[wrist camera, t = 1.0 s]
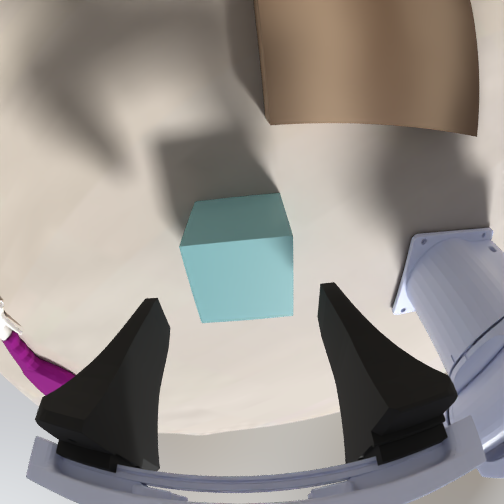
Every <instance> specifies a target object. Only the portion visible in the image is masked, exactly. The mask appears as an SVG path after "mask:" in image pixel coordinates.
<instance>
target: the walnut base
mask: <svg viewBox="0 0 504 504" xmlns="http://www.w3.org/2000/svg"><path fill="white" fill-rule="evenodd" d="M253 2H254V11H255V19H256V28H257V37H258V46H259V56H260V66H261V76H262V86H263V97H264V108H265V118H266V119H267V121H268V122H269V124H270V125H280V124H302V123H360V124H381V125H395V126H407V127H417V128H425V129H433V130H441V131H447V132H454V133H460V134H465V135H471V136H476V137H477V130H478V115H479V64H478V50H477V40H476V31H475V24H474V18H473V12H472V7H471V2H470V0H253Z"/></svg>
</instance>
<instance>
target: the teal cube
mask: <svg viewBox="0 0 504 504" xmlns="http://www.w3.org/2000/svg"><path fill="white" fill-rule="evenodd" d="M179 248H180V251H181V255H182V259H183V262H184V266H185V269H186V273H187V276H188V280H189V283H190V286H191V290H192V293H193V296H194V300H195V303H196V306H197V309H198V313H199V316H200V319H201V322H202V323H209V322H226V321H240V320H252V319H264V318H274V317H284V316H293V235H292V231H291V228H290V225H289V221H288V218H287V215H286V212H285V208H284V205H283V202H282V199H281V195H280V193H272V194H261V195H250V196H240V197H231V198H222V199H213V200H205V201H196V202H195V203H194V206H193V209H192V212H191V214H190V217H189V220H188V223H187V226H186V228H185V231H184V234H183V237H182V240H181V243H180V246H179Z"/></svg>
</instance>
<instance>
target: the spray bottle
mask: <svg viewBox="0 0 504 504" xmlns="http://www.w3.org/2000/svg"><path fill="white" fill-rule="evenodd" d="M3 307H4V303H3V301H2V300H0V338H1V339H2V341H3V343H4V345H5V346H6V348H7V349H8V351H9V352H10V354H11V355H12V357H13V358H14V359H15V361H16V362H17V364H18V365H19V366H20V368H21V369H22V371H23V373H24V375H25V376H26V377H27V378H28V379H29V380H30V381H31V382H32V383H33V384H34V385H35V386H36V387H37V388H38V389H39V390H40V391H41V392H42V393H43V394H44V395H45V396H46V395H48V394H49V393H51V392H53V391H54V390H56V389H58V388H59V387H61V386H62V385H64V384H65V383H66V382H68V381H69V380H71V379H72V378H73V377H75V376H76V375H74V374H73V373H71V372H69V371H67V370H65V369H63V368H61V367H59V366H56V365H54V364H51V363H49V362H46V361H44V360H42V359H40V358H38V357H37V356H35V354H34V353H33V352H32V351H31V350H30V349H29V348H28V347H27V345H26V344H25V343H24V342H23V341H22V340H20V338H19V336H18V334H20V335H21V334H22V331H21V330H19V329H18V328H17V327H16V326H15V325H14V324H13V323H12V322H11V321H10V320H9V319H8V318H7V317H6V316H5V315H4V309H3ZM11 329H12V330H11ZM13 330H14V331H13ZM16 332H17V333H16Z"/></svg>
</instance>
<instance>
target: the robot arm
mask: <svg viewBox="0 0 504 504" xmlns="http://www.w3.org/2000/svg"><path fill="white" fill-rule="evenodd" d="M492 236H493V230H492V229H491V228H480V229H468V230H456V231H445V232H433V233H422V234H416V235H414V236H413V238H412V240H411V244H410V248H409V252H408V256H407V260H406V264H405V268H404V272H403V275H402V279H401V282H400V286H399V289H398V293H397V296H396V299H395V302H394V306H393V309H392V312H393V314H394V315H399V314H404V313H409V312H413V311H416V313H417V315H418V316H419V318H420V320H421V322H422V324H423V325H424V327H425V329H426V331H427V333H428V335H429V337H430V339H431V341H432V343H433V344H434V346H435V348H436V350H437V352H438V354H439V356H440V358H441V361H442V363H443V365H444V367H445V369H446V371H447V373H448V375H449V376H448V375H446V374H444V373H442V372H440V371H437V370H435V369H433V368H431V367H429V366H428V365H426V364H424V363H422V362H420V361H419V360H417V359H415V358H414V357H412V356H411V355H409V354H408V353H406V352H405V351H404V350H402V349H401V348H399V347H398V346H397V345H395V344H394V343H393V342H391V341H390V340H389V339H388V338H387V337H385V336H384V335H383V334H382V333H381V332H380V331H379V330H377V329H376V328H375V327H374V326H373V325H372V324H371V323H370V322H369V321H368V320H367V319H366V318H365V317H364V316H363V315H362V314H361V312H360V311H359V310H358V309H357V308H356V307H355V306H354V305H353V304H352V303H351V301H350V300H349V299H348V298H347V297H346V296H345V294H344V293H343V292H342V291H341V290H340V288H339V287H338V286H337V285H336V284H335V283H334V282H333V283H324V284H320V296H319V307H318V321H319V327H320V332H321V337H322V340H323V343H324V346H325V349H326V353H327V356H328V359H329V362H330V365H331V369H332V372H333V375H334V379H335V383H336V387H337V393H338V399H339V405H340V411H341V417H342V426H343V434H344V446H345V458H346V459H345V461H346V464H343V465H338V466H334V467H328V468H322V469H316V470H310V471H303V472H295V473H286V474H276V475H262V476H237V477H236V476H230V477H228V476H197V475H183V474H174V473H165V472H158V470H159V469H160V466H159V455H158V403H159V393H160V386H161V382H162V377H163V372H164V367H165V363H166V358H167V353H168V348H169V338H170V326H169V324H168V322H167V319H166V317H165V315H164V312H163V310H162V307H161V305H160V303H159V300H158V298H148V299H145V300H144V301H143V302H142V304H141V305H140V306H139V307H138V309H137V310H136V311H135V313H134V314H133V315H132V316H131V318H130V319H129V320H128V322H127V323H126V324H125V325H124V327H123V328H122V329H121V330H120V332H119V333H118V334H117V335H116V336H115V337H114V339H113V340H112V341H111V342H110V343H109V345H108V346H107V347H106V348H105V349H104V350H103V351H102V352H101V353H100V354H99V355H98V356H97V357H96V358H95V359H94V360H93V361H92V362H91V363H90V364H89V365H88V366H86V367H85V368H84V369H83V370H82V371H81V372H79V373H78V374H77V375H76V376H75V377H73V378H72V379H71V380H69V381H68V382H66V383H65V384H64V385H62V386H61V387H59V388H58V389H56V390H54V391H53V392H51V393H49V394H48V395H46V396H44V397H42V400H41V403H40V406H39V409H38V412H37V415H36V418H35V420H36V422H37V424H38V425H39V426H40V427H42V428H43V429H44V430H46V431H47V432H48V433H50V434H51V435H53V436H54V437H56V438H57V439H59V442H58V444H56V443H54V442H51V441H49V440H46V439H44V438H41V437H38V436H36V438H35V442H34V445H33V449H32V453H31V457H30V461H29V466H28V470H27V475H26V477H27V478H28V479H30V480H32V481H33V482H35V483H37V484H39V485H41V486H43V487H45V488H47V489H49V490H51V491H53V492H55V493H57V494H59V495H61V496H63V497H65V498H67V499H70V500H72V501H74V502H76V503H79V504H229V503H203V502H188V498H187V497H184V496H180V495H176V494H173V493H171V492H170V491H165V490H159V489H155V488H150V487H148V486H147V485H149V486H155V487H161V488H168V489H177V490H185V491H198V492H215V493H217V492H218V493H252V492H271V491H283V490H291V489H300V488H308V487H314V486H320V485H326V484H331V483H336V482H340V483H336V484H332V485H329V486H324V487H320V488H316V489H312V491H311V493H310V494H308V499H307V500H298V501H289V502H275V503H251V504H407V503H410V502H412V501H414V500H417V499H419V498H421V497H423V496H425V495H427V494H429V493H432V492H434V491H436V490H437V489H440V488H441V487H443V486H445V485H447V484H449V483H451V482H453V481H455V480H456V479H458V478H460V477H462V476H463V475H465V474H467V473H469V472H470V471H472V470H473V469H475V468H477V470H478V471H479V472H480V474H481V476H483V477H490V478H504V252H503V251H502V250H501V249H500V248H499V247H498V246H497V245H496V244H495V243H494V242H493V241H491V239H492ZM423 239H424V240H423ZM422 240H423V241H422ZM345 480H347V481H345ZM341 481H345V482H341ZM249 504H250V503H249Z"/></svg>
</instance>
